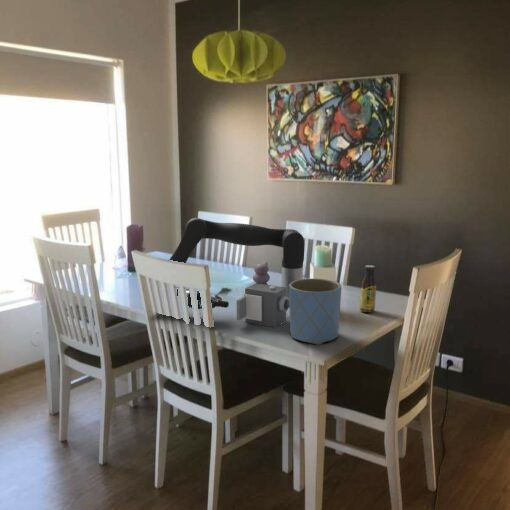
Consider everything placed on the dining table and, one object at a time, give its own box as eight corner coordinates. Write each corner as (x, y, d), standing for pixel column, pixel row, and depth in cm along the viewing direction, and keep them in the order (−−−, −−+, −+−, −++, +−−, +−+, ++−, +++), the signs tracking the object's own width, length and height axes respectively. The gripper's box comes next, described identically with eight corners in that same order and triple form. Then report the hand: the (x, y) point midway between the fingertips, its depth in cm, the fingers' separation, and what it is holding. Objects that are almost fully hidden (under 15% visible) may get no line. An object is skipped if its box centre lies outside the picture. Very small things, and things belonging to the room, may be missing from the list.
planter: (308, 324, 220) (309, 275, 216) (349, 335, 208) (351, 284, 204) (278, 337, 206) (278, 285, 202) (320, 350, 194) (321, 295, 190)
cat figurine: (256, 289, 270) (256, 265, 267) (250, 285, 277) (250, 262, 275) (272, 287, 273) (272, 264, 271) (266, 283, 280) (266, 260, 278)
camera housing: (245, 322, 223) (244, 286, 220) (255, 315, 231) (255, 281, 228) (282, 328, 215) (282, 292, 212) (291, 321, 223) (292, 286, 220)
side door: (236, 322, 217) (236, 297, 215) (244, 317, 222) (244, 293, 220) (254, 325, 213) (254, 300, 211) (262, 320, 219) (262, 296, 217)
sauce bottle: (367, 314, 232) (369, 268, 227) (356, 310, 237) (358, 265, 233) (378, 312, 235) (380, 266, 231) (367, 308, 240) (369, 263, 236)
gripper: (182, 293, 221) (218, 299, 213) (200, 286, 233) (236, 291, 225) (182, 311, 223) (219, 318, 215) (200, 303, 234) (236, 309, 226)
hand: (227, 304), depth 220 cm, fingers closed
